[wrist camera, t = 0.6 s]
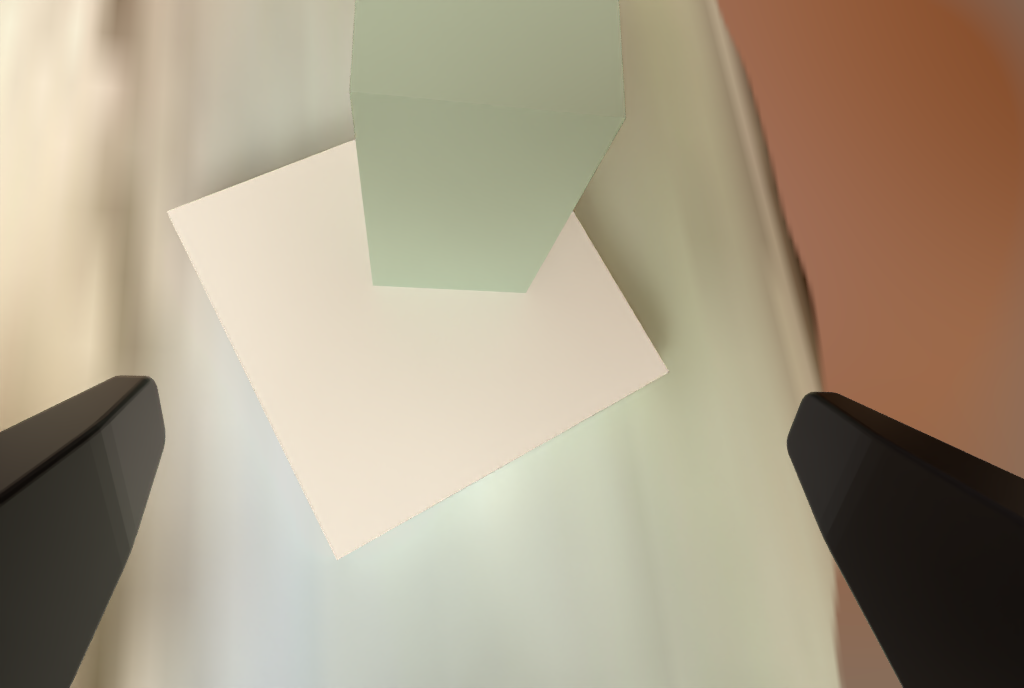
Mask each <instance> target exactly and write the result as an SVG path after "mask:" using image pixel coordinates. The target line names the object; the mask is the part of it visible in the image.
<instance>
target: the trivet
mask: <svg viewBox="0 0 1024 688" xmlns="http://www.w3.org/2000/svg"><path fill="white" fill-rule="evenodd" d="M167 213H168V215H169V217H170V220H171V222H172V224H173V226H174V228H175V230H176V232H177V234H178V236H179V238H180V240H181V242H182V244H183V246H184V248H185V250H186V252H187V254H188V256H189V258H190V260H191V262H192V265H193V267H194V269H195V271H196V273H197V275H198V277H199V279H200V281H201V283H202V285H203V287H204V289H205V291H206V293H207V295H208V297H209V299H210V301H211V303H212V305H213V307H214V310H215V312H216V314H217V316H218V318H219V320H220V322H221V324H222V326H223V328H224V330H225V332H226V334H227V336H228V338H229V340H230V342H231V344H232V346H233V348H234V350H235V352H236V355H237V357H238V359H239V361H240V363H241V365H242V367H243V369H244V371H245V373H246V375H247V377H248V379H249V381H250V383H251V385H252V387H253V389H254V391H255V393H256V395H257V397H258V400H259V402H260V404H261V406H262V408H263V410H264V412H265V414H266V416H267V418H268V420H269V422H270V424H271V426H272V428H273V430H274V432H275V434H276V436H277V438H278V440H279V442H280V445H281V447H282V449H283V451H284V453H285V455H286V457H287V459H288V461H289V463H290V465H291V467H292V469H293V471H294V473H295V475H296V477H297V479H298V481H299V483H300V485H301V487H302V490H303V492H304V494H305V496H306V498H307V500H308V502H309V504H310V506H311V508H312V510H313V512H314V514H315V516H316V518H317V520H318V522H319V524H320V526H321V528H322V530H323V532H324V535H325V537H326V539H327V541H328V543H329V545H330V547H331V549H332V551H333V553H334V555H335V557H336V559H337V560H338V559H340V558H342V557H343V556H345V555H347V554H349V553H351V552H352V551H354V550H356V549H358V548H359V547H361V546H363V545H365V544H366V543H368V542H370V541H372V540H373V539H375V538H377V537H379V536H381V535H382V534H384V533H386V532H388V531H389V530H391V529H393V528H395V527H396V526H398V525H400V524H402V523H404V522H405V521H407V520H409V519H411V518H412V517H414V516H416V515H418V514H419V513H421V512H423V511H425V510H426V509H428V508H430V507H432V506H434V505H435V504H437V503H439V502H441V501H442V500H444V499H446V498H448V497H449V496H451V495H453V494H455V493H457V492H458V491H460V490H462V489H464V488H465V487H467V486H469V485H471V484H472V483H474V482H476V481H478V480H480V479H481V478H483V477H485V476H487V475H488V474H490V473H492V472H494V471H495V470H497V469H499V468H501V467H502V466H504V465H506V464H508V463H510V462H511V461H513V460H515V459H517V458H518V457H520V456H522V455H524V454H525V453H527V452H529V451H531V450H533V449H534V448H536V447H538V446H540V445H541V444H543V443H545V442H547V441H548V440H550V439H552V438H554V437H555V436H557V435H559V434H561V433H563V432H564V431H566V430H568V429H570V428H571V427H573V426H575V425H577V424H578V423H580V422H582V421H584V420H586V419H587V418H589V417H591V416H593V415H594V414H596V413H598V412H600V411H601V410H603V409H605V408H607V407H609V406H610V405H612V404H614V403H616V402H617V401H619V400H621V399H623V398H624V397H626V396H628V395H630V394H631V393H633V392H635V391H637V390H639V389H640V388H642V387H644V386H646V385H647V384H649V383H651V382H653V381H654V380H656V379H658V378H660V377H662V376H663V375H665V374H667V373H669V371H668V369H667V367H666V366H665V364H664V362H663V361H662V359H661V357H660V356H659V354H658V352H657V351H656V349H655V347H654V346H653V344H652V342H651V341H650V339H649V337H648V336H647V334H646V332H645V331H644V329H643V327H642V326H641V324H640V322H639V321H638V319H637V317H636V315H635V314H634V312H633V310H632V309H631V307H630V305H629V304H628V302H627V300H626V299H625V297H624V295H623V294H622V292H621V290H620V289H619V287H618V285H617V284H616V282H615V280H614V279H613V277H612V275H611V274H610V272H609V270H608V269H607V267H606V265H605V264H604V262H603V260H602V258H601V257H600V255H599V253H598V252H597V250H596V248H595V247H594V245H593V243H592V242H591V240H590V238H589V237H588V235H587V233H586V232H585V230H584V228H583V227H582V225H581V223H580V222H579V220H578V218H577V217H576V215H575V213H574V212H573V211H572V213H571V215H570V217H569V218H568V220H567V222H566V224H565V225H564V227H563V229H562V231H561V232H560V234H559V236H558V238H557V239H556V241H555V243H554V245H553V246H552V248H551V250H550V252H549V253H548V255H547V257H546V259H545V260H544V262H543V264H542V266H541V267H540V269H539V271H538V273H537V274H536V276H535V278H534V280H533V281H532V283H531V285H530V287H529V288H528V290H527V292H526V293H515V292H494V291H474V290H453V289H433V288H412V287H392V286H373V282H372V274H371V265H370V257H369V249H368V241H367V232H366V224H365V216H364V207H363V199H362V191H361V182H360V174H359V166H358V158H357V149H356V141H355V139H354V140H351V141H349V142H346V143H344V144H341V145H338V146H336V147H333V148H331V149H328V150H325V151H323V152H320V153H318V154H315V155H312V156H310V157H307V158H305V159H302V160H299V161H297V162H294V163H292V164H289V165H286V166H284V167H281V168H278V169H276V170H273V171H271V172H268V173H265V174H263V175H260V176H258V177H255V178H252V179H250V180H247V181H245V182H242V183H239V184H237V185H234V186H232V187H229V188H226V189H224V190H221V191H219V192H216V193H213V194H211V195H208V196H206V197H203V198H200V199H198V200H195V201H192V202H190V203H187V204H185V205H182V206H179V207H177V208H174V209H172V210H169V211H167Z"/></svg>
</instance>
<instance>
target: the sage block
mask: <svg viewBox="0 0 1024 688" xmlns="http://www.w3.org/2000/svg"><path fill="white" fill-rule="evenodd" d="M350 99H351V108H352V116H353V124H354V133H355V141H356V149H357V158H358V166H359V174H360V182H361V191H362V199H363V207H364V216H365V224H366V232H367V241H368V249H369V257H370V265H371V274H372V282H373V286H392V287H412V288H433V289H453V290H474V291H494V292H515V293H526V292H527V290H528V288H529V287H530V285H531V283H532V281H533V280H534V278H535V276H536V274H537V273H538V271H539V269H540V267H541V266H542V264H543V262H544V260H545V259H546V257H547V255H548V253H549V252H550V250H551V248H552V246H553V245H554V243H555V241H556V239H557V238H558V236H559V234H560V232H561V231H562V229H563V227H564V225H565V224H566V222H567V220H568V218H569V217H570V215H571V213H572V211H573V210H574V208H575V206H576V204H577V203H578V201H579V199H580V197H581V196H582V194H583V192H584V190H585V189H586V187H587V185H588V183H589V182H590V180H591V178H592V176H593V174H594V173H595V171H596V169H597V167H598V166H599V164H600V162H601V160H602V159H603V157H604V155H605V153H606V152H607V150H608V148H609V146H610V145H611V143H612V141H613V139H614V138H615V136H616V134H617V132H618V131H619V129H620V127H621V125H622V124H623V122H624V120H625V118H626V113H625V96H624V79H623V62H622V45H621V28H620V11H619V0H355V16H354V31H353V46H352V61H351V77H350Z"/></svg>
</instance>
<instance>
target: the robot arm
mask: <svg viewBox="0 0 1024 688" xmlns="http://www.w3.org/2000/svg"><path fill="white" fill-rule="evenodd" d="M164 444H165V426H164V421H163V415H162V410H161V405H160V399H159V394H158V389H157V385H156V383H155V381H154V380H153V379H152V378H150V377H148V376H115V377H113V378H110V379H108V380H106V381H104V382H102V383H100V384H98V385H96V386H94V387H92V388H90V389H88V390H86V391H84V392H82V393H80V394H78V395H76V396H74V397H71V398H69V399H67V400H65V401H63V402H61V403H59V404H57V405H55V406H53V407H51V408H49V409H47V410H45V411H43V412H41V413H39V414H37V415H35V416H32V417H30V418H28V419H26V420H24V421H22V422H20V423H18V424H16V425H14V426H12V427H10V428H8V429H6V430H4V431H2V432H0V688H70V686H71V684H72V682H73V680H74V677H75V675H76V673H77V671H78V669H79V666H80V664H81V662H82V660H83V658H84V655H85V653H86V651H87V649H88V647H89V644H90V642H91V640H92V638H93V636H94V633H95V631H96V629H97V627H98V625H99V622H100V620H101V618H102V616H103V614H104V611H105V609H106V607H107V605H108V603H109V600H110V598H111V596H112V594H113V591H114V589H115V587H116V585H117V583H118V580H119V578H120V576H121V574H122V572H123V569H124V567H125V565H126V562H127V560H128V557H129V555H130V553H131V550H132V547H133V544H134V541H135V538H136V535H137V532H138V529H139V526H140V523H141V520H142V516H143V513H144V510H145V507H146V504H147V500H148V497H149V494H150V491H151V487H152V484H153V481H154V478H155V475H156V471H157V468H158V465H159V462H160V459H161V455H162V452H163V449H164ZM787 449H788V453H789V456H790V458H791V461H792V463H793V466H794V468H795V471H796V473H797V476H798V478H799V480H800V483H801V485H802V488H803V490H804V493H805V495H806V497H807V500H808V502H809V505H810V507H811V510H812V512H813V514H814V517H815V519H816V522H817V524H818V527H819V529H820V531H821V533H822V536H823V538H824V540H825V542H826V544H827V546H828V548H829V550H830V552H831V554H832V556H833V558H834V560H835V562H836V564H837V565H838V567H839V569H840V571H841V573H842V575H843V577H844V578H845V580H846V582H847V584H848V586H849V588H850V590H851V591H852V593H853V595H854V597H855V599H856V601H857V603H858V605H859V607H860V608H861V610H862V612H863V614H864V616H865V618H866V620H867V621H868V623H869V625H870V627H871V629H872V631H873V633H874V634H875V636H876V638H877V640H878V642H879V644H880V646H881V648H882V650H883V651H884V653H885V655H886V657H887V659H888V661H889V663H890V664H891V666H892V668H893V670H894V672H895V674H896V676H897V677H898V679H899V681H900V683H901V685H902V687H903V688H1024V479H1023V478H1021V477H1018V476H1016V475H1014V474H1012V473H1010V472H1008V471H1005V470H1003V469H1001V468H999V467H997V466H994V465H992V464H990V463H988V462H986V461H983V460H981V459H979V458H977V457H975V456H972V455H970V454H968V453H966V452H964V451H962V450H960V449H958V448H955V447H953V446H951V445H949V444H947V443H944V442H942V441H940V440H938V439H936V438H934V437H931V436H929V435H927V434H925V433H923V432H921V431H918V430H916V429H914V428H912V427H910V426H908V425H905V424H903V423H901V422H898V421H897V420H894V419H892V418H890V417H888V416H886V415H884V414H881V413H879V412H877V411H875V410H873V409H871V408H868V407H866V406H864V405H862V404H860V403H857V402H855V401H853V400H851V399H849V398H847V397H844V396H842V395H840V394H838V393H833V392H810V393H808V394H807V395H805V396H804V398H803V399H802V401H801V403H800V406H799V408H798V411H797V413H796V416H795V419H794V421H793V424H792V426H791V429H790V431H789V434H788V437H787Z"/></svg>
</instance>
